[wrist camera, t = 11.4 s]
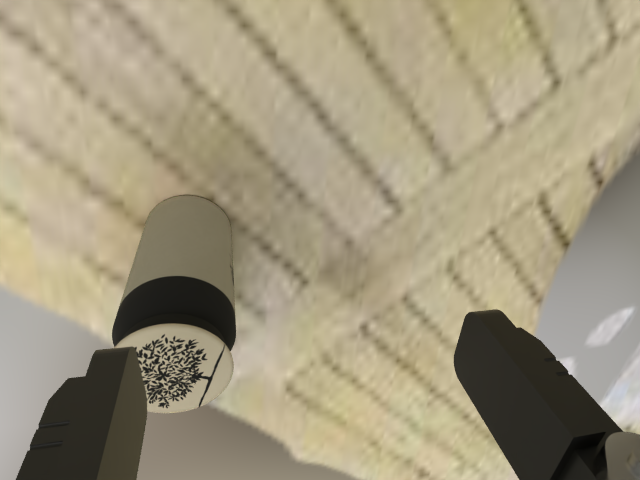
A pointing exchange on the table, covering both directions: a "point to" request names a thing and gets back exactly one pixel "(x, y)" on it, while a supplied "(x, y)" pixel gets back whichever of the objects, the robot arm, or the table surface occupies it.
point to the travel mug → (181, 305)
